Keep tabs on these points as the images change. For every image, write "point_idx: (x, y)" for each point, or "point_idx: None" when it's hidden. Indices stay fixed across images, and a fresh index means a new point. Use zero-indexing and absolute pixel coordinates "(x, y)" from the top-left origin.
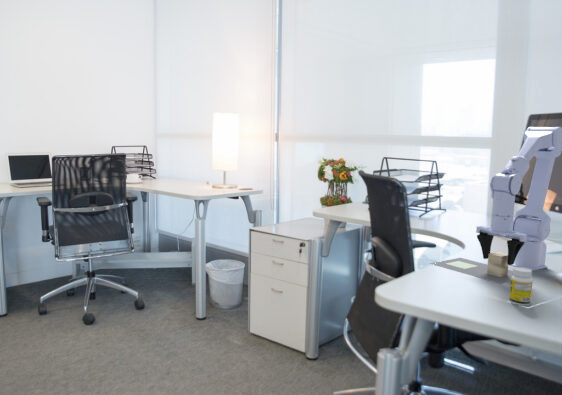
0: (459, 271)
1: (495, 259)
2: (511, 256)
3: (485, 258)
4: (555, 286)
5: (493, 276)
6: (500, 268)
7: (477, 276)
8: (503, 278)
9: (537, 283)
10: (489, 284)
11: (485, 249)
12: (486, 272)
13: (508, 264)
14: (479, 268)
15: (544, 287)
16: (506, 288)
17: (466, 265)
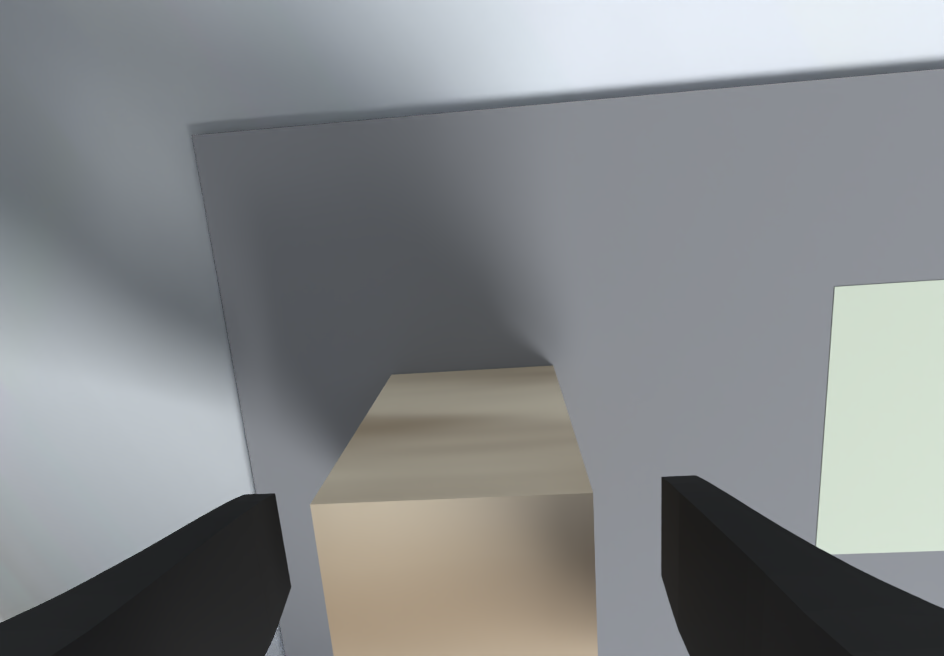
0: (797, 109)
1: (438, 458)
2: (118, 571)
3: (662, 483)
4: (3, 605)
5: (436, 329)
6: (367, 413)
7: (521, 134)
8: (332, 361)
9: (121, 549)
10: (258, 15)
11: (740, 584)
12: (587, 403)
13: (260, 494)
14: (740, 478)
15: (3, 488)
16: (77, 71)
17: (915, 449)
